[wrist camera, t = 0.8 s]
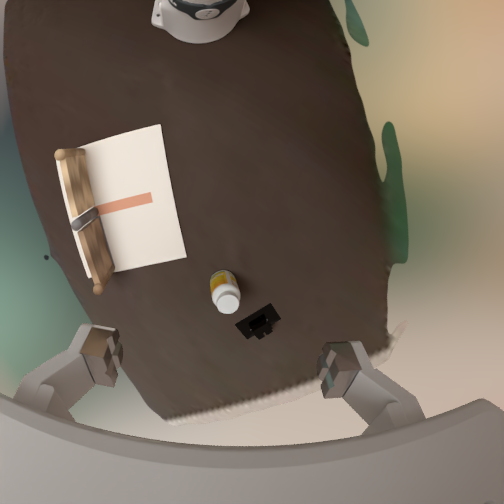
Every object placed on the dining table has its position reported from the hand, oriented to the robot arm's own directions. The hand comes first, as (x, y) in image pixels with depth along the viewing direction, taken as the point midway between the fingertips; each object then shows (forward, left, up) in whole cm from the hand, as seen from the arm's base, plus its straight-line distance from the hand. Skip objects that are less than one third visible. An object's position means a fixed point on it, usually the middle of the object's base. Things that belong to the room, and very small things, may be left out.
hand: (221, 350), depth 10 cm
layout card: (0, -16, -45) cm, 48 cm away
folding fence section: (-7, -21, -44) cm, 49 cm away
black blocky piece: (+32, +8, -46) cm, 56 cm away
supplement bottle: (+20, +1, -45) cm, 49 cm away
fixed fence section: (+6, -21, -45) cm, 49 cm away
